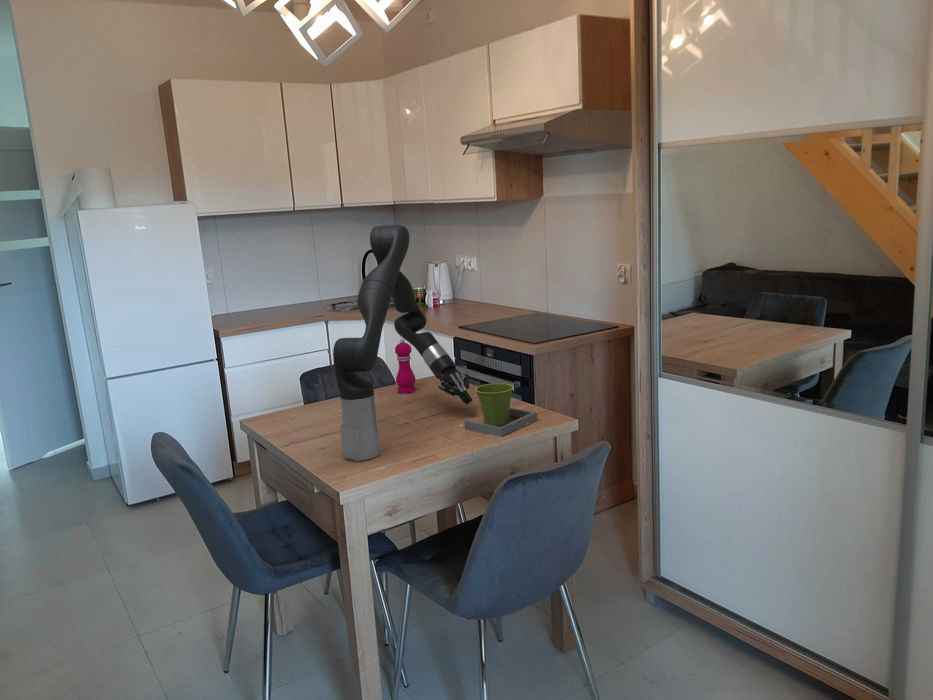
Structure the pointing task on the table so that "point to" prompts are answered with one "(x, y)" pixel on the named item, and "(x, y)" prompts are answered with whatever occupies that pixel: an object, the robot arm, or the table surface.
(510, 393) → the plant pot
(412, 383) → the pepper mill
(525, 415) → the bay
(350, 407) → the robot arm
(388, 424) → the table surface
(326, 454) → the table surface
